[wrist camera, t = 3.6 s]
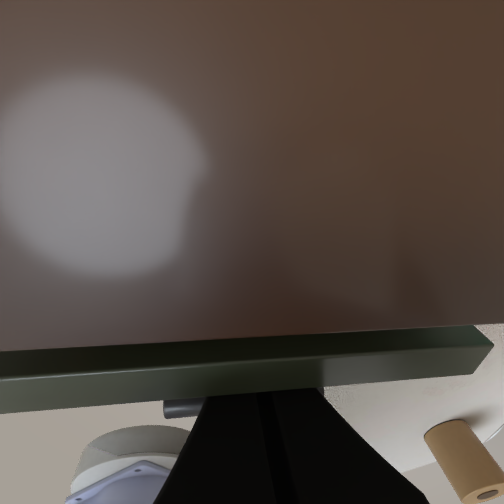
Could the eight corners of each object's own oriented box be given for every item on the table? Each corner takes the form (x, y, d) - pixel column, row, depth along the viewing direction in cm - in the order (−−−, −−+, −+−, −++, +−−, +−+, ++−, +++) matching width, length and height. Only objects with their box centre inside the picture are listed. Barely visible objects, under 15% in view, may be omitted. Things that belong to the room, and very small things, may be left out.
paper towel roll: (429, 446, 29) (466, 509, 25) (419, 432, 27) (458, 498, 23) (469, 430, 28) (515, 492, 24) (462, 414, 26) (512, 479, 22)
